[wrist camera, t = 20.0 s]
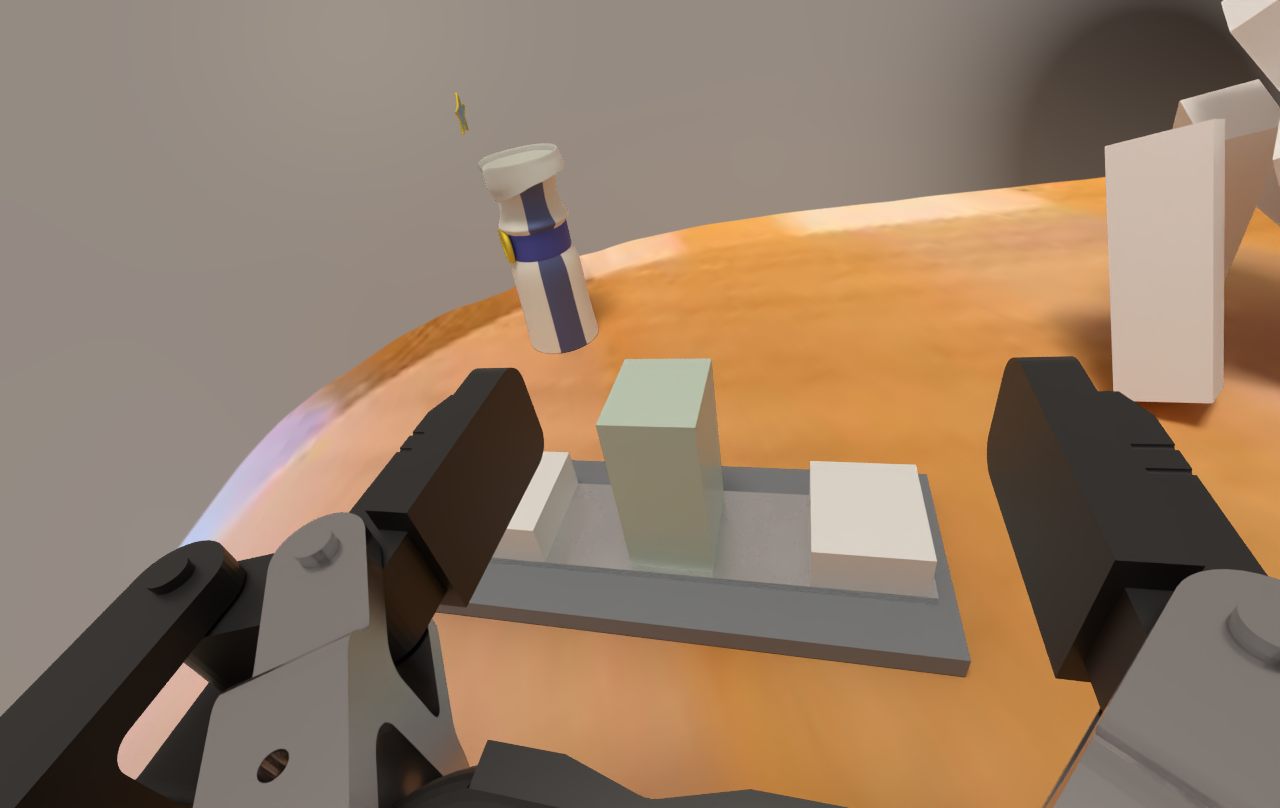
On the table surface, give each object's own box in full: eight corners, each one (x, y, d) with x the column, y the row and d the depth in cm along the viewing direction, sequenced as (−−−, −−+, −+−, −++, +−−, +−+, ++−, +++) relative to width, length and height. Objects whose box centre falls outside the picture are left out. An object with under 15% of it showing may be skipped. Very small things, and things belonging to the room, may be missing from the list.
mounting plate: (917, 507, 36) (918, 500, 36) (937, 605, 31) (938, 598, 30) (500, 484, 44) (497, 479, 43) (457, 559, 38) (454, 554, 38)
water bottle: (538, 365, 60) (457, 100, 45) (520, 332, 66) (444, 92, 52) (611, 340, 62) (556, 78, 47) (586, 310, 68) (531, 73, 54)
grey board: (923, 490, 39) (926, 474, 38) (965, 676, 29) (970, 661, 28) (509, 471, 47) (503, 457, 46) (430, 611, 37) (421, 597, 36)
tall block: (724, 495, 38) (711, 356, 32) (712, 572, 34) (695, 427, 27) (652, 491, 40) (625, 357, 33) (631, 564, 35) (595, 425, 28)
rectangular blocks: (908, 496, 36) (914, 461, 34) (928, 597, 30) (937, 561, 29) (505, 476, 43) (493, 446, 42) (461, 554, 38) (445, 524, 36)
